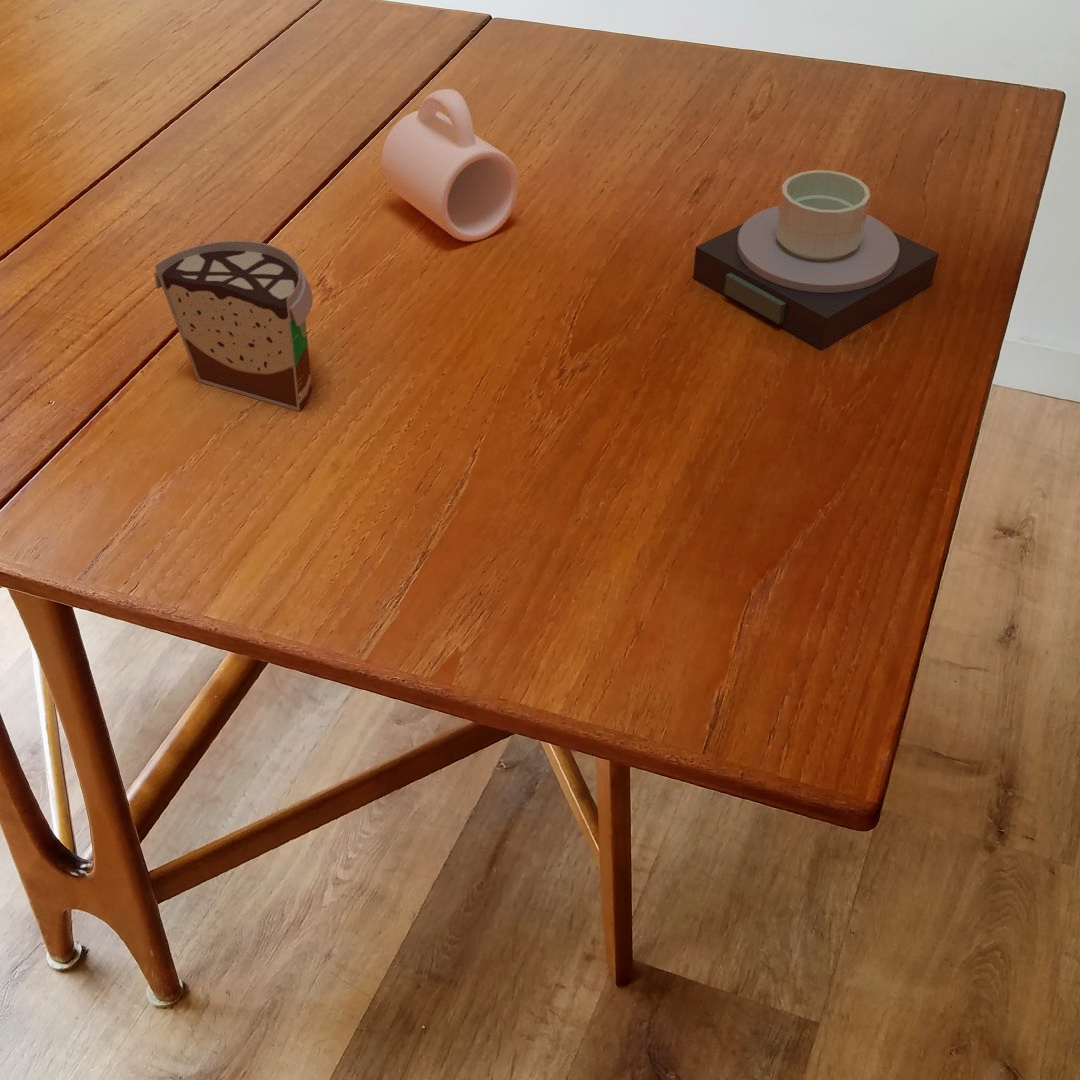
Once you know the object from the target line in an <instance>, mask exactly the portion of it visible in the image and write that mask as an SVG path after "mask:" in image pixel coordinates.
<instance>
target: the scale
mask: <svg viewBox="0 0 1080 1080" xmlns="http://www.w3.org/2000/svg"><path fill="white" fill-rule="evenodd" d="M778 210H779V205H774V206H771V207H769V208H768V207H767V208H765V209H763V210H761V211H759V212H757V213H755V214H753V215H752V216H751V217H749V218H747V220H745V221H744V222H742V223H741V224H739V225H737V226H735V227H733V228H731V229H729V230H727V231H725V232H723V233H721V234H719V235H718V236H715V237H713V238H710V239H709V240H707V241H705V242H703V243H700V244H699V245H696V246H695V253H694V264H693V276H692V278H693V279H694V280H696V281H698V282H699V283H701V284H703V285H705V286H707V287H708V288H710V289H711V290H714V291H716V292H717V293H719V294H721V295H723V296H724V297H726V298H728V299H730V300H731V301H733V302H734V303H736V304H738V305H740V306H742V307H744V308H745V309H747V310H749V311H751V312H752V313H754V314H756V315H758V316H760V317H761V318H763V319H764V320H766V321H769V322H770V323H772V324H773V325H776V326H778V327H779V328H781V329H783V330H784V331H786V332H788V333H790V334H791V335H793V336H795V337H796V338H798V339H800V340H802V341H804V342H805V343H807V344H809V345H811V346H813V347H814V348H816V349H818V350H820V351H822V350H824V349H826V348H827V347H829V346H831V345H832V344H834V343H836V342H837V341H839V340H840V339H842V338H845V337H846V336H847V335H850V334H851V333H852V332H855V331H856V330H858V329H860V328H862V327H863V326H864V325H867V324H868V323H870V322H871V321H873V320H875V319H877V318H878V317H880V316H882V315H883V314H885V313H887V312H888V311H890V310H891V309H893V308H895V307H897V306H899V305H900V304H902V303H903V302H905V301H907V300H908V299H910V298H912V297H913V296H915V295H918V294H919V293H921V292H922V291H923V290H925V289H928V288H929V287H931V286H932V285H933V280H934V276H935V272H936V269H937V265H938V260H939V256H940V253H938V251H935V250H933V249H931V248H929V247H926V246H925V245H922V244H920V243H918V242H915V241H914V240H912V239H909V238H908V237H905V236H903V235H901V234H898V233H896V232H894V231H892V230H891V229H890V227H888V226H887V225H886V224H885V223H883V222H882V221H880V220H879V219H877V218H876V217H874V216H872V215H870V214H868V213H867V216H866V221H865V226H864V232H863V237H862V241H861V243H860V245H859V246H858V248H857V249H856V250H854V251H852V252H850V253H848V254H847V255H845V256H843V257H840V258H837V259H832V260H813V259H807V258H803V257H800V256H797V255H795V254H793V253H791V252H790V251H788V250H787V249H786V248H785V247H784V246H783V245H782V244H781V243H780V242H779V241H778V239H777V237H776V225H777V218H778Z"/></svg>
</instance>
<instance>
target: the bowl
mask: <svg viewBox="0 0 1080 1080" xmlns="http://www.w3.org/2000/svg"><path fill="white" fill-rule="evenodd" d="M780 188H781V189H780V195H779V196H780V197H779V205H778V206H779V210H778V218H777V225H776V237H777V239H778V241H779V242H780V243H781V244H782V245H783V246H784V247H785V248H786V249H787V250H788V251H790V252H791V253H793V254H795V255H797V256H800V257H803V258H807V259H813V260H832V259H837V258H840V257H843V256H845V255H847V254H848V253H850V252H852V251H854V250H856V249H857V248H858V246H859V245H860V243H861V241H862V237H863V232H864V226H865V221H866V216H867V214H868V210H869V205H870V201H871V192H870V188H869V187H868V185H866V184H865V183H864V182H863V180H861V179H859V178H857V177H855V176H853V175H851V174H848V173H845V172H840V171H834V170H827V169H826V170H823V169H822V170H821V169H813V170H808V171H802V172H797V173H795V174H793V175H791V176H789V177H788V178H786V180H785V181H784V182H783V183H782V185H781V187H780Z"/></svg>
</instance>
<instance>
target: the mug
mask: <svg viewBox="0 0 1080 1080" xmlns="http://www.w3.org/2000/svg"><path fill="white" fill-rule="evenodd" d="M440 106H441V108H443V110H444V111H445V112H446V114H447V115H446V114H445V113H443V112H441V111H439V108H440ZM380 165H381V166H380V167H381V171H382V176H383V178H384V180H385V182H386V184H387V185H388V187H389V188H390V189H391V190H392V191H393V192H394V193H395V194H397V195H398V196H399V197H400V198H402V199H403V200H405V202H407V203H408V204H409V205H411V207H414V208H415V209H416V210H417V211H419V212H420V213H421V214H423V215H424V216H425V217H427V218H428V219H429V220H430V221H432V222H433V223H434V224H436V225H437V226H438V227H440V228H441V229H442V230H443V231H445V232H447V234H449V235H450V236H452V238H454V239H457V240H459V241H462V242H476V241H481V240H483V239H485V238H488V237H490V236H492V235H493V234H495V233H496V232H497V231H498V230H499V229H500V228H502V226H504V224H505V223H506V222H507V220H508V219H509V217H510V216H511V214H512V212H513V211H514V209H515V206H516V203H517V200H518V196H519V189H520V181H519V173H518V169H517V168H516V165H515V164H514V162H513V160H511V158H510V157H509V155H507V154H506V153H504V152H502V151H501V150H499V149H498V148H497V147H495V146H493V145H491V144H490V143H488V142H487V141H486V140H484V139H483V138H481V137H479V136H478V135H477V134H475V128H474V123H473V119H472V115H471V112H470V109H469V106H468V104H467V102H466V100H465V98H464V97H463V96H462V94H461V92H459V91H457V90H455V89H451V88H443V89H442V88H441V89H438V90H435V91H433V92H431V93H430V94H428V95H427V96H426V97H425V98H424V99H423V100H422V102H421V103H420V105H419V107H418V110H415V111H412V112H410V113H408V114H407V115H405V116H403V117H402V118H400V120H398V122H397V123H395V125H394V126H393V127H392V128H391V129H390V131H389V133H388V134H387V137H386V139H385V141H384V144H383V147H382V150H381V157H380Z"/></svg>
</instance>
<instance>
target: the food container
mask: <svg viewBox="0 0 1080 1080" xmlns="http://www.w3.org/2000/svg"><path fill="white" fill-rule="evenodd" d="M154 268H155V271H153V272H154V283H155V289H157V290H160V289H161V288H162V290H163V293H164V296H165V298H166V300H167V304H168V306H169V308H170V312H171V315H172V316H173V319H174V322H175V325H176V327H177V330H178V333H179V336H180V337H181V341H182V343H183V345H184V348H185V351H186V354H187V356H188V359H189V361H190V364H191V367H192V369H193V372H194V375H195V377H196V380H197V382H198V383H200V384H203V385H208V386H211V387H215V388H217V389H222V390H225V391H228V392H232V393H234V394H239V395H242V396H245V397H249V398H251V399H255V400H259V401H261V402H266V403H269V404H271V405H275V406H279V407H281V408H285V409H289V410H293V411H296V412H299V413H301V411H303V409H304V408H305V407H306V406H307V404H308V402H309V399H310V396H311V393H312V390H313V388H312V377H311V366H310V353H309V342H308V331H307V320H306V319H307V318H308V316H309V314H310V312H311V309H312V307H313V302H314V300H313V299H314V296H313V291H312V288H311V286H310V283H309V281H308V278H307V276H306V274H305V272H304V270H303V269H302V267H301V265H299V264H298V263H297V261H296V259H295V258H293V256H292V255H291V254H289V253H287V252H286V251H285V250H283V249H281V248H279V247H277V246H275V245H271V244H268V243H263V242H258V241H253V240H251V241H250V240H223V241H222V240H221V241H214V242H208V243H207V242H206V243H203V244H199V245H195V246H191V247H189V248H186V249H183V250H180V251H178V252H175V253H173V254H171V255H169V256H168V257H166V258H163V259H162V260H161V261H159V262H157V263H156V264H154Z"/></svg>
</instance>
